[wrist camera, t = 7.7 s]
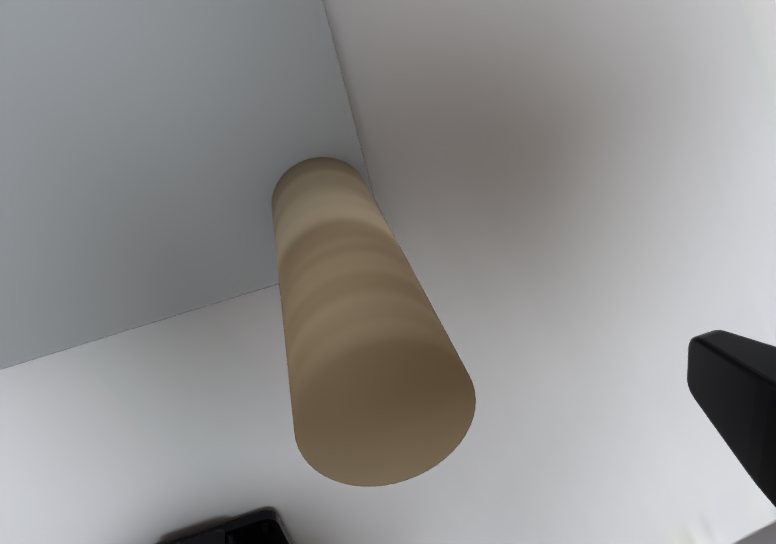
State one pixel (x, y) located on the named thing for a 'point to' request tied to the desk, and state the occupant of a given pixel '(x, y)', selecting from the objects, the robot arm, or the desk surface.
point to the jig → (151, 156)
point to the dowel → (361, 336)
